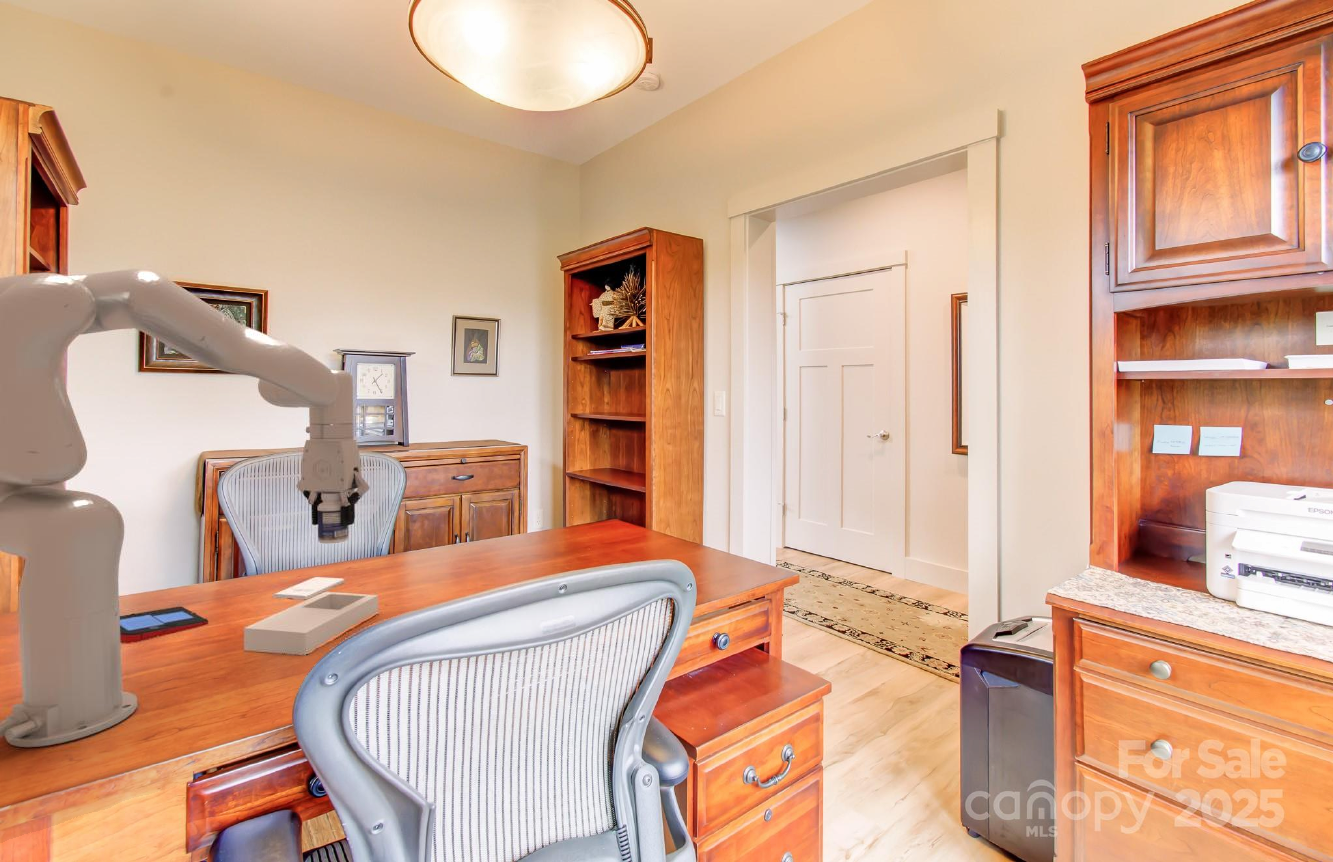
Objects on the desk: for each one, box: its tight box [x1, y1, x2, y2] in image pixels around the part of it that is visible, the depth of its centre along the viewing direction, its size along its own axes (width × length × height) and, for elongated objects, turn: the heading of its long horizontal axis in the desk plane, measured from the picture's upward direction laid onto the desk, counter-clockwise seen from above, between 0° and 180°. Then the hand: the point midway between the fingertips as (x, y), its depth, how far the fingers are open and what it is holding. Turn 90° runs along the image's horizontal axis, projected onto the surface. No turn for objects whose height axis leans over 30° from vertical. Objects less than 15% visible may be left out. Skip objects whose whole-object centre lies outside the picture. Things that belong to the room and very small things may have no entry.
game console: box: [120, 606, 209, 644], centre depth 115 cm, size 14×13×2 cm
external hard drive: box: [272, 576, 346, 600], centre depth 137 cm, size 2×8×12 cm
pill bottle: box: [317, 492, 350, 545], centre depth 117 cm, size 5×5×10 cm
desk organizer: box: [243, 591, 379, 656], centre depth 113 cm, size 20×12×4 cm, turn 172°
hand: (333, 523), depth 117 cm, fingers closed on pill bottle, 5 cm apart
